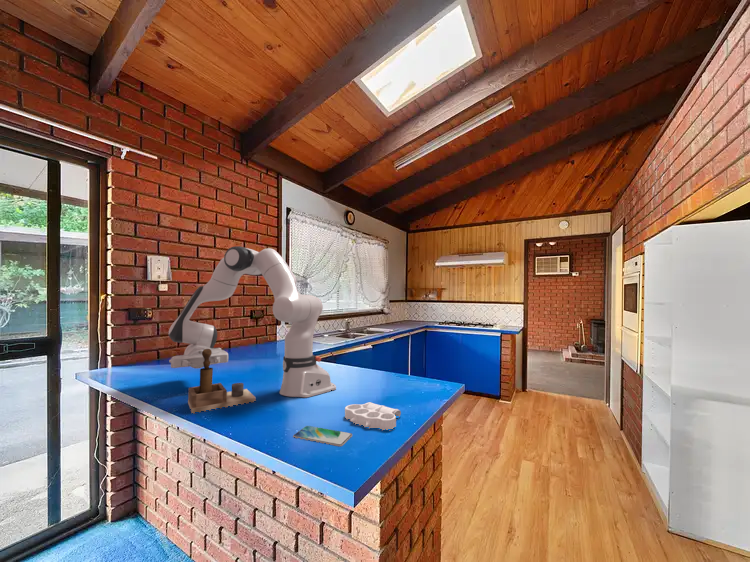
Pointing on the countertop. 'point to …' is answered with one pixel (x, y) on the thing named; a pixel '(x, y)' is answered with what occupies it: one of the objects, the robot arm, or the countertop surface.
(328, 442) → the smartphone
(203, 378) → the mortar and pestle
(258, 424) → the countertop surface
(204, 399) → the holder stand
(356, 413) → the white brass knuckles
